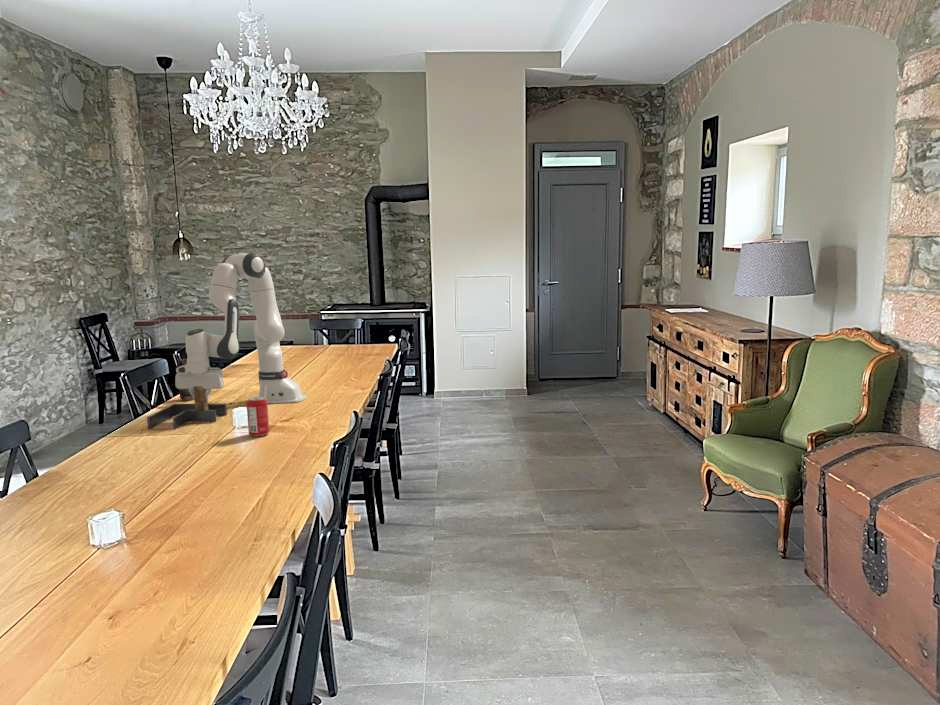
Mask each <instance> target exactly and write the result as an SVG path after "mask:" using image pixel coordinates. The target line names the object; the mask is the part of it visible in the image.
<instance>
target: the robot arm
mask: <svg viewBox="0 0 940 705" xmlns="http://www.w3.org/2000/svg"><path fill="white" fill-rule="evenodd" d="M239 279H247V282H248V289H249V295H250V300H251V306H252V309H253V313H254V316H255V318H256V321H255V322H254V324H253V328H252V330H253V333H254V340H255V347H256V351H257V356H258V382H259V392H258V396H262V397H265V399H266V400H267V404H268V403H271V404H286V403H287V404H288V403H289V404H291V402H292V403H300V402H301V401H302V402H303V401H304V400H305V399H307V395H306V394H305V393H302V389H301V386H300V385H299V383H297V382H296V381H294V380H292V379H291V378H290V377H289V374H288V373H289V370H285V369H284V361H283V360H284V358H283V351H282V347H281V345H280V344H281V343H280V341H282V340H283V339H284V336H285V332H286V331H285V327H284V325H283V320H282V318H281V314H280V310H279V308H278V303H277V299H276V298H277V297H276V293H275V286H274V281H273V278H272V273H271V271H270V270H269V268H268V267H266V263H265V261H264V258H263V257H262V256H261V255H260V254H257V253H255V252H241V253H236V254H229V255H227V256H225V257H224V258H223V260H222V261H221V263H218V264H217V265H216V266H215V269H214V271H213V274H212V277H211V279H210V280H211V281H210V285H209V290H208V298H209V300H210V302H211V304H212V305H213V306H214V307H216V308H218V309H220V311H222V312H223V315H224V329H223V334H222V335H221V334H220V335H219V334H213V333H211V332H210V333H209V332H207V331H206V330H205V329H203V328H196V329H192V330H190V331H187V333H186V335H185V353H186V355H187V358H186V359H187V364H185V365H183V366H180V367H178V368H176V367H175V372H176V374H175V379H174V380H175V383H174V385H175V388H176V389H177V390H179V389H189V392H190V393H191V395H192V399H194V388H193V387H194V386H203V389H206V391H207V394H206V395H204V397H205V399H208V400H209V399H210V394H211V392H212V391H213V390H221V389H222V388H224V386H225V382H224V377H223V370H222V369H221V368H220V367H211V366H210V359H209V357H212V358H220V359H225V360H232V359H234V358H235V357H236V356H237V354H239V350H240V341H239V328H240V327H239V325H240V323H239V322H240V306H239V303H238V301H237V298H236V296H237V295H236V292H237V287H238V286H237V285H238V281H239Z"/></svg>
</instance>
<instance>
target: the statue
mask: <svg viewBox="0 0 940 705" xmlns="http://www.w3.org/2000/svg"><path fill="white" fill-rule="evenodd" d="M185 364H187V358H182V359H180V360H179V361H178V362H177V363H176V366H175V369H176V368H178V367H180V366H183V365H185ZM178 391H179V399H180V400H181V399H182V400H181V401H183V400H185V401H184V402H189V400H191V401H195V400H194V399H192V395H191V393H190V392H189V389H178Z"/></svg>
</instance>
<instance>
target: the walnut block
mask: <svg viewBox="0 0 940 705" xmlns="http://www.w3.org/2000/svg"><path fill="white" fill-rule="evenodd" d="M193 388H194V400H193V401H194V404H195V410H208V404H209V399H205V397H204V395H206V394H207V392H208V391H206V389H203V386H194V387H193Z"/></svg>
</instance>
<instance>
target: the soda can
mask: <svg viewBox="0 0 940 705" xmlns="http://www.w3.org/2000/svg"><path fill="white" fill-rule="evenodd" d="M268 408H269V406H268V404H267V400H266V399H265V397H262V396H259V395H258V396H257V395H256V396H251V397H248V399H247V401H246V414H247V426H248V434H249V436H252V437H253V436H254V437H255V438H257V437H259V436H261V437H265V436H267V435H268V434H269V433H270V424H269V423H270V422H269V409H268ZM264 435H265V436H264Z"/></svg>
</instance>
